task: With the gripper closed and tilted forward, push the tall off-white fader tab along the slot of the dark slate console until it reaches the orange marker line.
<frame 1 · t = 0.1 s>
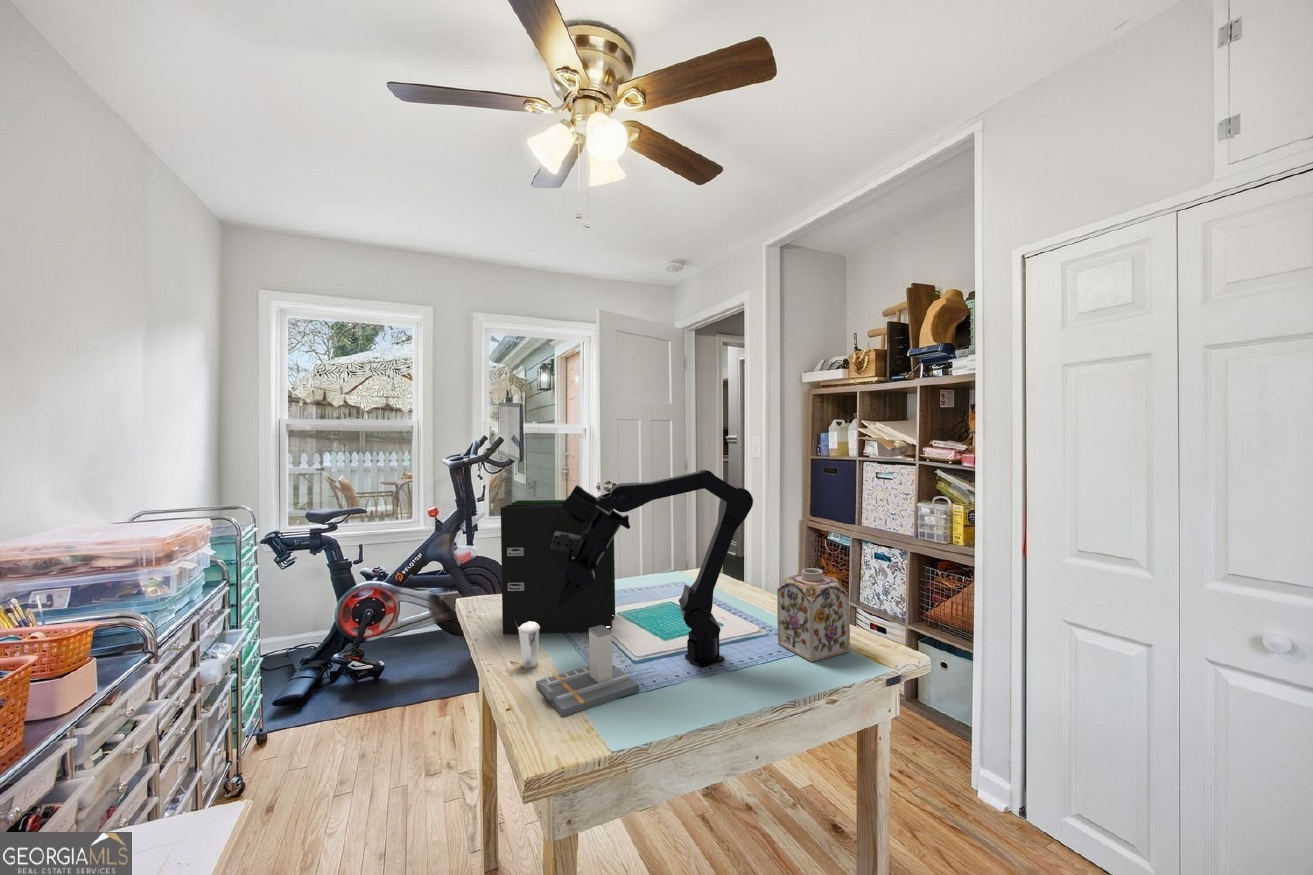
hand: (560, 597, 110), 15 cm above the table, tool tilted 35°, fingers open, 9 cm apart
decorative jar: (812, 649, 118), on the table
fader tab: (600, 653, 102), point 6 cm above the table, slide at 0.0 cm
binder: (561, 624, 135), on the table
console: (587, 688, 100), on the table
milkshake: (527, 665, 111), on the table
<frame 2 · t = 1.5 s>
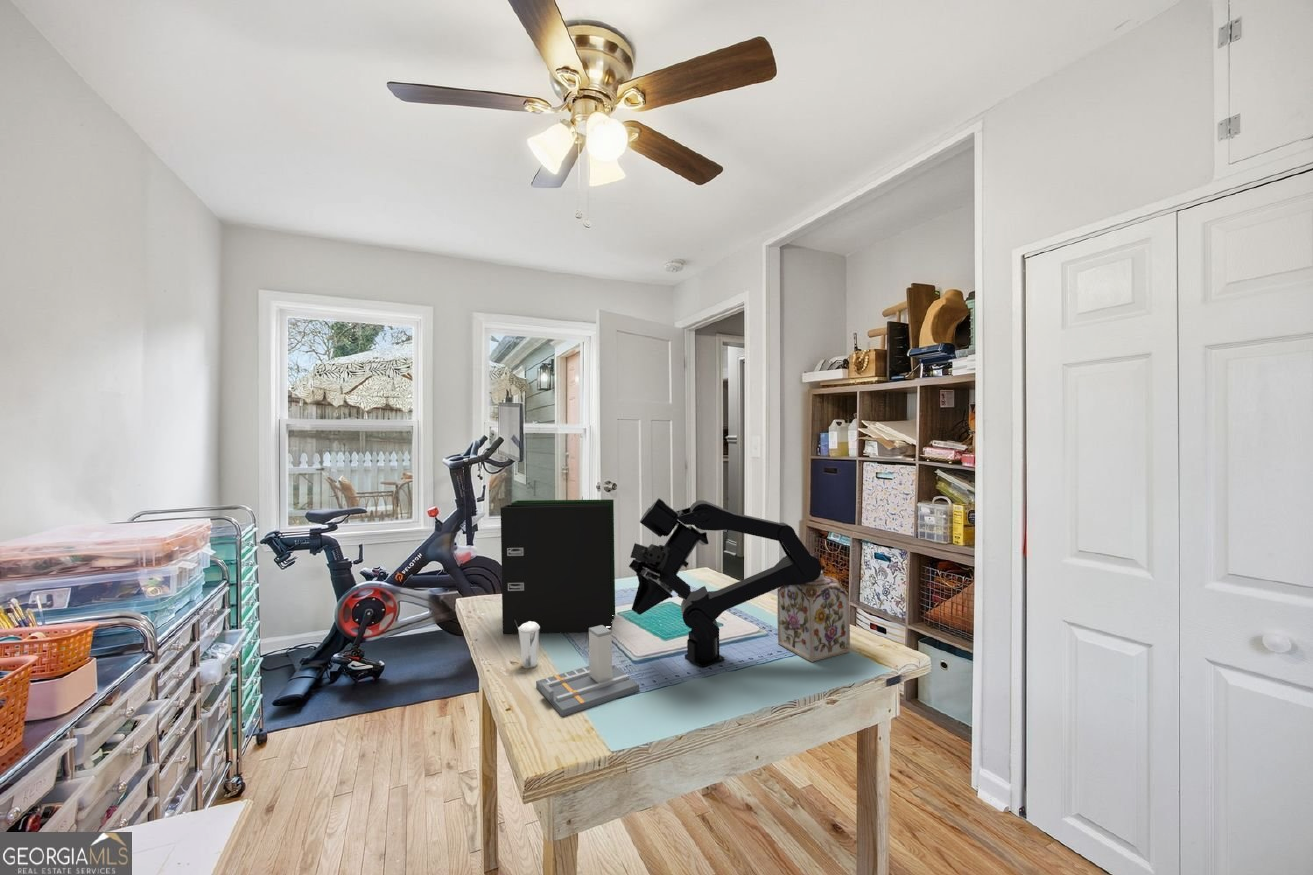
hand: (635, 612, 107), 13 cm above the table, tool tilted 40°, fingers closed
decorative jar: (812, 649, 118), on the table, touching arm
everything else where it was.
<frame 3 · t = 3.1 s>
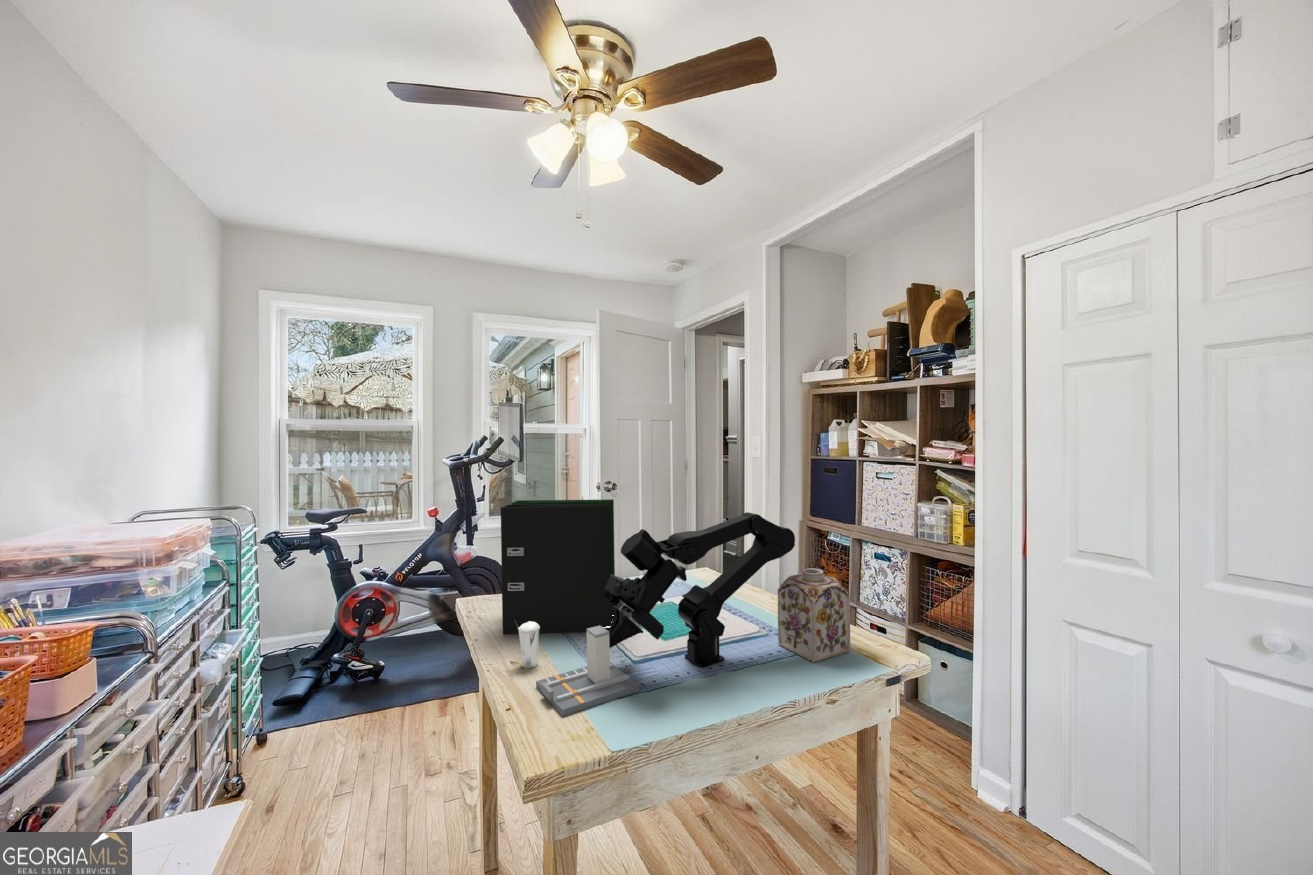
hand: (605, 646, 103), 7 cm above the table, tool tilted 45°, fingers closed
decorative jar: (813, 649, 117), on the table
fader tab: (598, 654, 102), point 6 cm above the table, slide at 0.5 cm, touching gripper
everything else where it was.
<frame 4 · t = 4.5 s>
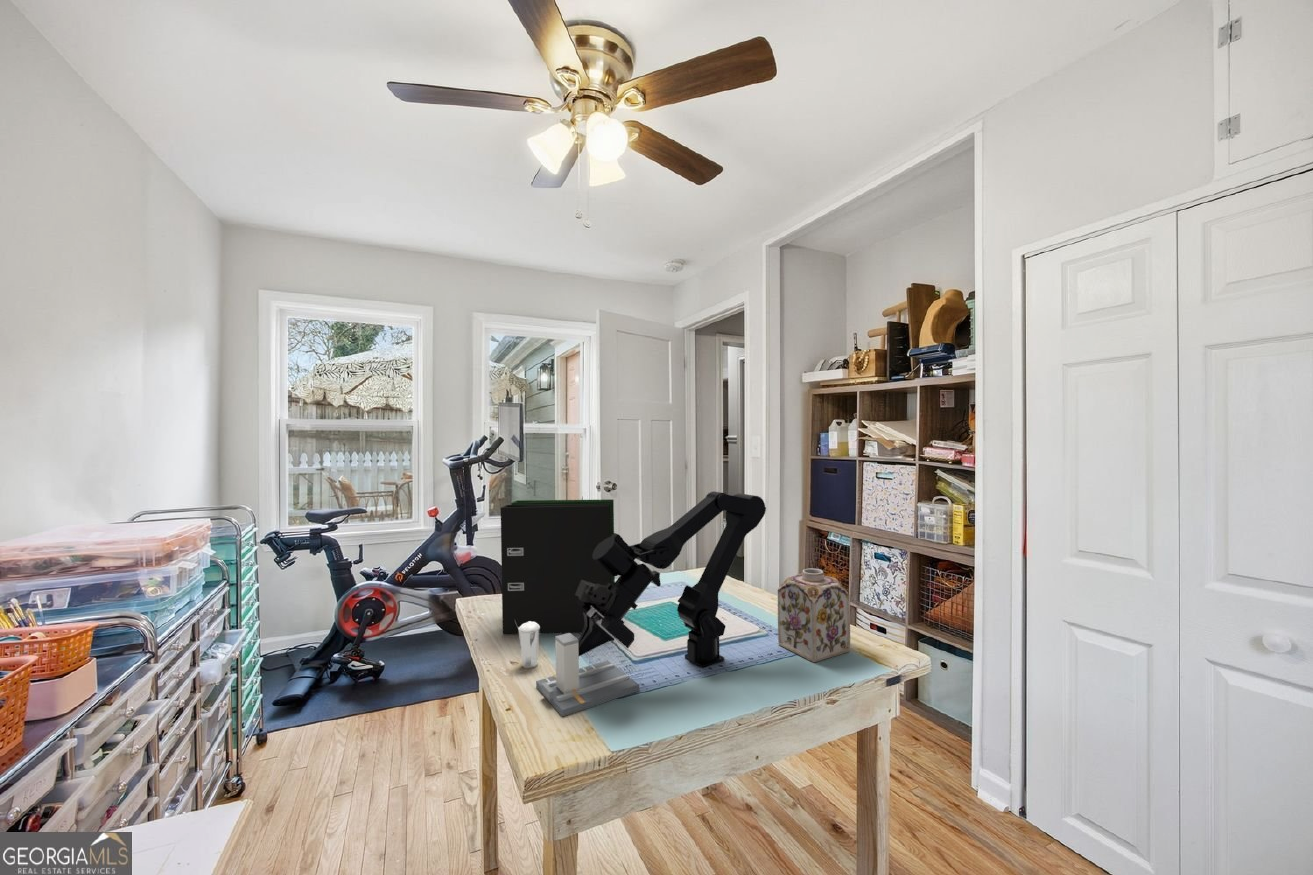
hand: (575, 654, 99), 7 cm above the table, tool tilted 45°, fingers closed
fader tab: (567, 662, 98), point 6 cm above the table, slide at 7.2 cm, touching gripper
everything else where it was.
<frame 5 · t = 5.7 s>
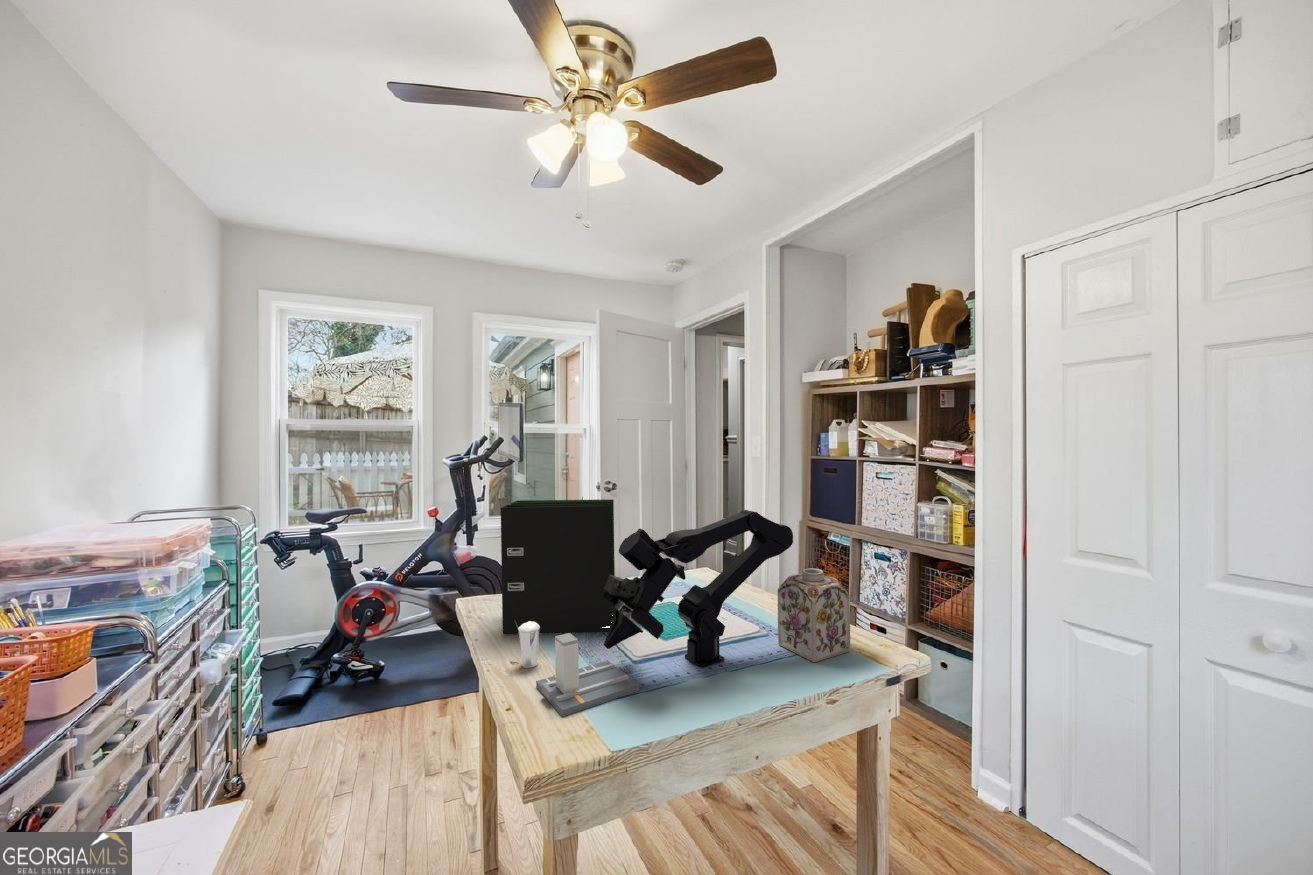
hand: (605, 646, 103), 7 cm above the table, tool tilted 45°, fingers closed
fader tab: (566, 662, 98), point 6 cm above the table, slide at 7.2 cm
everything else where it was.
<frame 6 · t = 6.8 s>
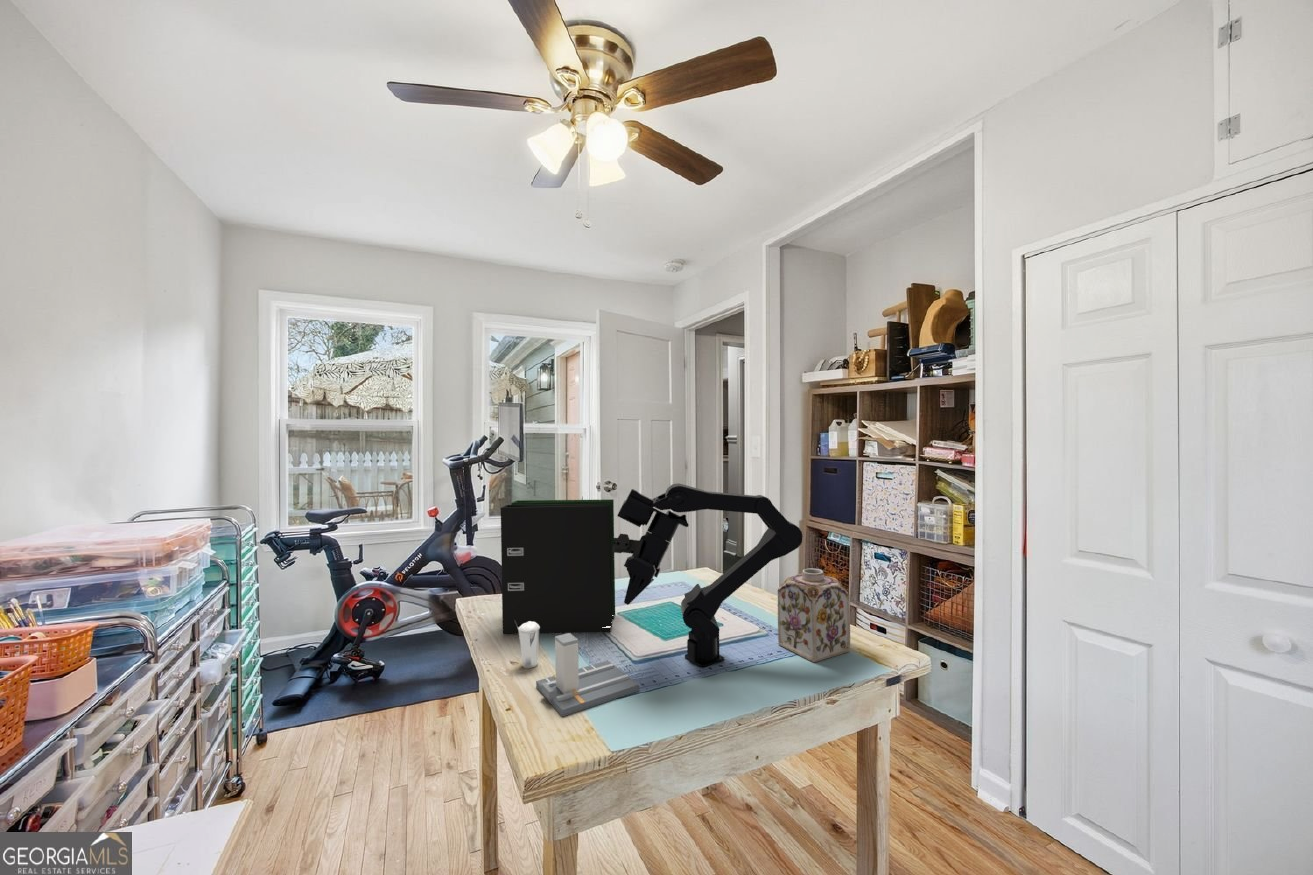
hand: (626, 603, 109), 14 cm above the table, tool tilted 30°, fingers closed
nothing on the table moved.
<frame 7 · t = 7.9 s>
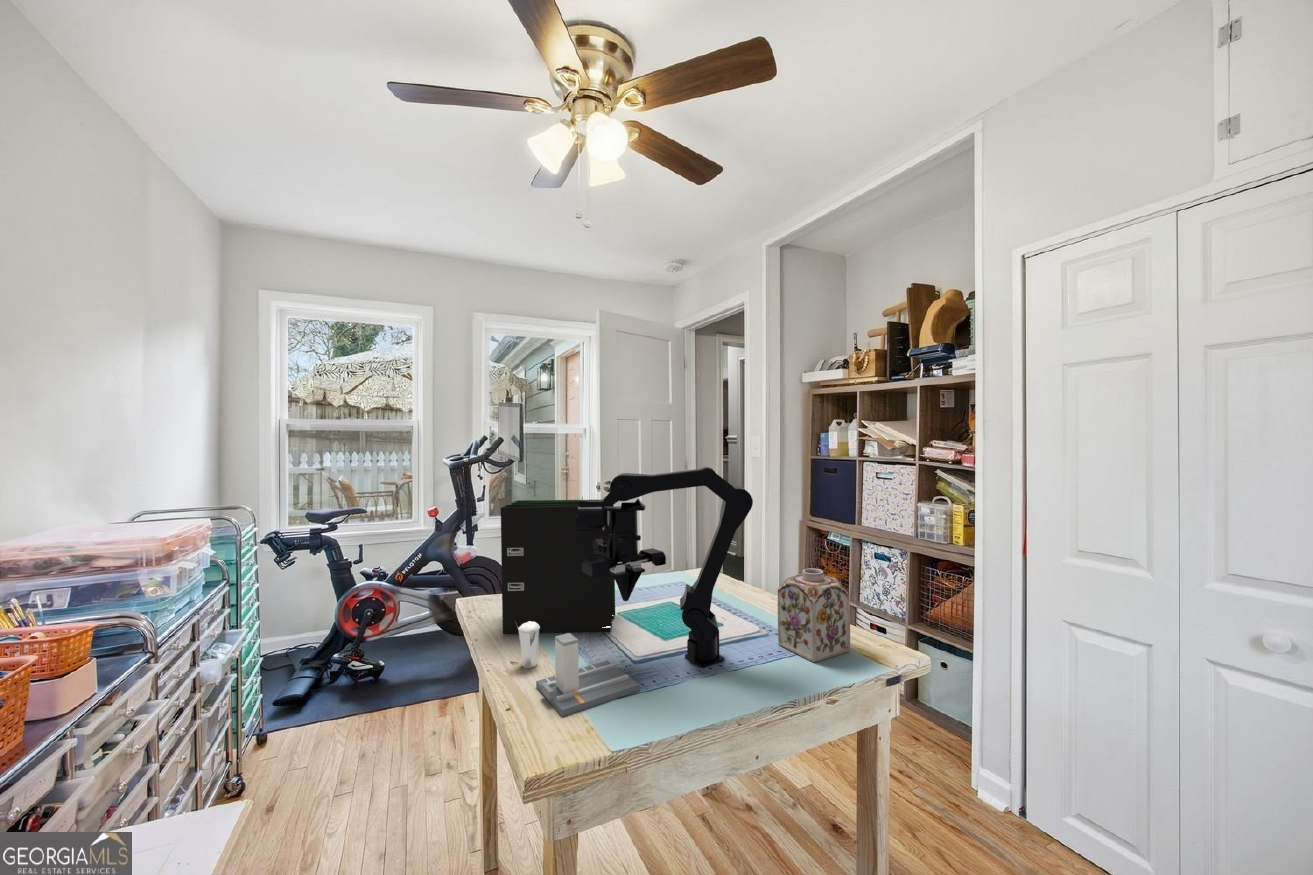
hand: (625, 600, 113), 13 cm above the table, tool pointing down, fingers closed
nothing on the table moved.
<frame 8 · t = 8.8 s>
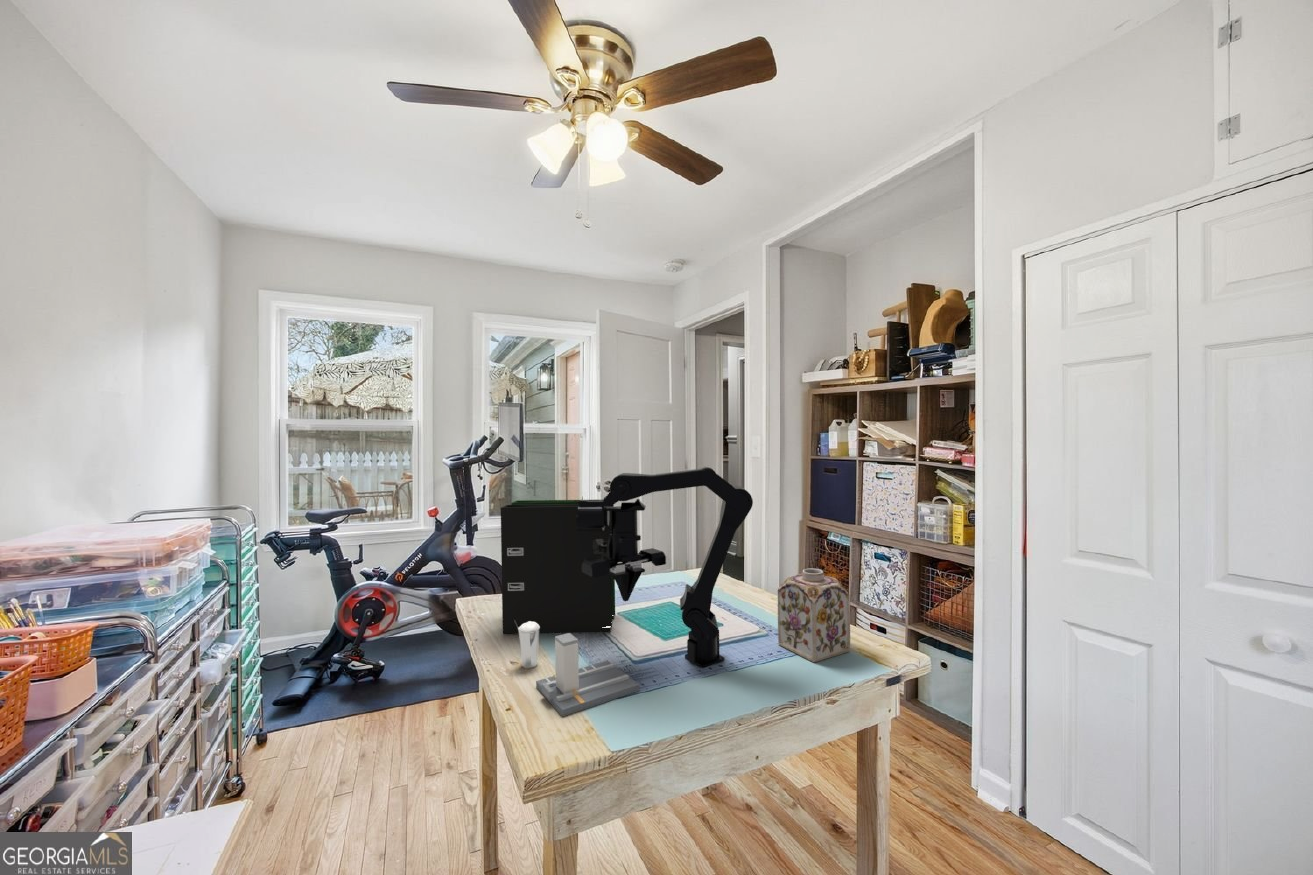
hand: (625, 600, 113), 13 cm above the table, tool pointing down, fingers closed
nothing on the table moved.
at the end: fader tab slide at 7.2 cm; the gripper is holding nothing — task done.
